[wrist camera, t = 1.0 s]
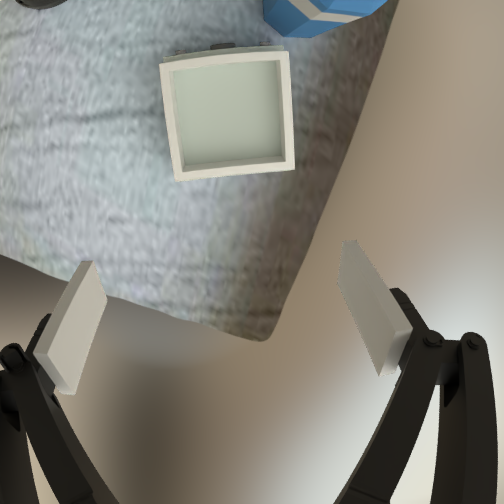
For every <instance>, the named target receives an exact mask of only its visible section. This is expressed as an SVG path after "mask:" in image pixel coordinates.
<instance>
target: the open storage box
mask: <svg viewBox="0 0 504 504" xmlns="http://www.w3.org/2000/svg"><path fill="white" fill-rule="evenodd" d="M210 48H211V50H209V51H201V52H193V53H186V50H178V51H176V55H174V56H168V57H163V61H164V63H162V64H159V69H160V78H161V87H162V95H163V103H164V111H165V118H166V125H167V132H168V139H169V146H170V153H171V159H172V165H173V172H174V178H175V182H176V181H180V182H182V181H189V180H197V179H205V178H214V177H223V176H232V175H242V174H253V173H264V172H276V171H289V170H294V169H295V163H294V137H293V115H292V97H291V80H290V65H289V51H284V49H283V45H278V46H270V42H260V46H254V47H239V48H235V44H234V43H224V44H216V45H212V46H210Z"/></svg>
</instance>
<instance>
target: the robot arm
mask: <svg viewBox="0 0 504 504" xmlns="http://www.w3.org/2000/svg"><path fill="white" fill-rule="evenodd" d="M65 1H67V0H16V2H18V3H19V4H20V5H22V6H25V7H28V8H32V9H48V8H51V7H54V6H57V5H59V4H61V3H63V2H65ZM337 284H338V286H339V288H340V290H341V293H342V295H343V297H344V299H345V301H346V303H347V305H348V308H349V310H350V312H351V314H352V316H353V318H354V320H355V323H356V325H357V327H358V329H359V332H360V334H361V336H362V339H363V341H364V343H365V345H366V348H367V350H368V352H369V355H370V357H371V359H372V362H373V364H374V366H375V369H376V371H377V373H378V376H384V375H388V374H393V373H395V371H396V368H397V366H398V365H399V367H400V369H401V371H402V372H401V374H400V376H399V378H398V381H397V383H396V385H395V388H394V391H393V393H392V395H391V398H390V400H389V402H388V404H387V407H386V409H385V411H384V413H383V415H382V417H381V420H380V422H379V424H378V426H377V428H376V430H375V432H374V434H373V436H372V438H371V440H370V441H369V443H368V446H367V447H366V449H365V451H364V453H363V455H362V457H361V458H360V460H359V462H358V464H357V466H356V467H355V469H354V471H353V473H352V474H351V476H350V478H349V479H348V481H347V483H346V484H345V486H344V488H343V489H342V491H341V492H340V494H339V496H338V497H337V499H336V500H335V502H334V503H333V504H390V499H391V496H392V494H393V492H394V490H395V488H396V486H397V484H398V482H399V480H400V478H401V476H402V473H403V471H404V469H405V467H406V464H407V462H408V460H409V457H410V455H411V453H412V450H413V447H414V445H415V443H416V440H417V438H418V435H419V432H420V430H421V427H422V424H423V421H424V418H425V415H426V413H427V410H428V407H429V403H430V400H431V397H432V394H433V391H434V387H435V385H440V409H439V412H440V413H439V432H438V445H437V456H436V466H435V474H434V482H433V489H432V495H431V501H430V504H496V495H497V474H498V473H497V472H498V471H497V470H498V445H497V444H498V442H497V423H496V422H497V421H496V408H495V398H494V388H493V381H492V373H491V367H490V360H489V354H488V349H487V344H486V341H485V340H484V338H483V337H482V336H480V335H479V334H477V333H474V332H467V333H465V334H464V335H463V336H462V338H461V340H445V339H444V337H443V336H442V335H441V334H440V333H438V332H436V331H434V330H429V328H428V327H427V325H426V324H425V322H424V321H423V319H422V318H421V316H420V314H419V313H418V311H417V310H416V309H415V307H414V305H413V304H412V303H411V301H410V299H409V298H408V296H407V295H406V294H405V293H404V292H403V291H401V290H400V289H399V288H392V289H388V287H387V286H386V284H385V283H384V281H383V279H382V278H381V276H380V275H379V273H378V272H377V270H376V269H375V267H374V266H373V264H372V263H371V261H370V260H369V258H368V257H367V255H366V254H365V252H364V251H363V249H362V248H361V247H360V245H359V243H358V242H357V241H356V240H351V241H343V243H342V252H341V260H340V267H339V275H338V282H337ZM106 303H107V298H106V295H105V292H104V290H103V287H102V284H101V281H100V278H99V276H98V273H97V270H96V267H95V264H94V261H81V263H80V265H79V266H78V268H77V270H76V271H75V273H74V275H73V277H72V278H71V280H70V282H69V284H68V285H67V287H66V289H65V291H64V292H63V294H62V296H61V298H60V300H59V302H58V303H57V305H56V307H55V309H54V311H53V313H52V314H47V315H46V316H45V317H44V318H43V319H42V320H41V322H40V323H39V325H38V327H37V330H36V331H35V333H34V336H33V337H32V339H31V341H30V343H29V345H28V347H27V349H26V351H25V352H24V351H23V349H22V347H21V346H20V345H19V344H17V343H11V344H9V345H7V346H5V347H4V348H3V349H2V350H1V352H0V364H1V365H2V366H3V368H4V369H5V370H1V371H0V504H39V500H38V496H37V491H36V487H35V483H34V478H33V473H32V468H31V462H30V456H29V450H28V444H27V436H26V432H27V435H28V438H29V440H30V443H31V445H32V447H33V450H34V452H35V455H36V457H37V459H38V461H39V464H40V466H41V468H42V470H43V472H44V475H45V477H46V479H47V481H48V483H49V485H50V487H51V489H52V491H53V493H54V494H55V496H56V498H57V500H58V502H59V504H119V502H118V501H117V500H116V498H115V497H114V495H113V494H112V493H111V491H110V490H109V489H108V487H107V485H106V484H105V482H104V481H103V479H102V478H101V477H100V475H99V473H98V472H97V470H96V469H95V467H94V465H93V464H92V462H91V460H90V459H89V457H88V456H87V454H86V452H85V450H84V449H83V447H82V445H81V444H80V442H79V440H78V438H77V436H76V435H75V433H74V431H73V429H72V427H71V426H70V423H69V422H68V420H67V418H66V416H65V414H64V412H63V410H62V408H61V405H60V403H59V401H58V399H57V397H56V396H55V394H54V393H53V392H54V389H55V386H56V387H57V388H58V390H59V391H60V393H61V394H68V395H75V393H76V390H77V386H78V383H79V380H80V377H81V374H82V371H83V367H84V364H85V361H86V358H87V355H88V352H89V350H90V346H91V344H92V341H93V338H94V335H95V333H96V330H97V327H98V324H99V322H100V319H101V316H102V314H103V311H104V309H105V306H106Z"/></svg>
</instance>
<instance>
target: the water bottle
mask: <svg viewBox="0 0 504 504" xmlns="http://www.w3.org/2000/svg"><path fill="white" fill-rule="evenodd" d="M386 1H387V0H263V10H264V21H266V22H267V23H268V24H269V25H271V26H272V27H273V28H274V29H275V30H276V31H278V32H279V33H280V34H281V35H282V36H283V37H302V38H311V37H314V36H316V35H318V34H321V33H323V32H325V31H328V30H330V29H333V28H335V27H338V26H340V25H343V24H345V23H348V22H351V21H353V20H356V19H359V18H362V17H364V16H367V15H370V14H372V13H373V12H374V11H375V10H376V9H378V8H379V7H380V6H381V5H382V4H384V3H385V2H386Z"/></svg>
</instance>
